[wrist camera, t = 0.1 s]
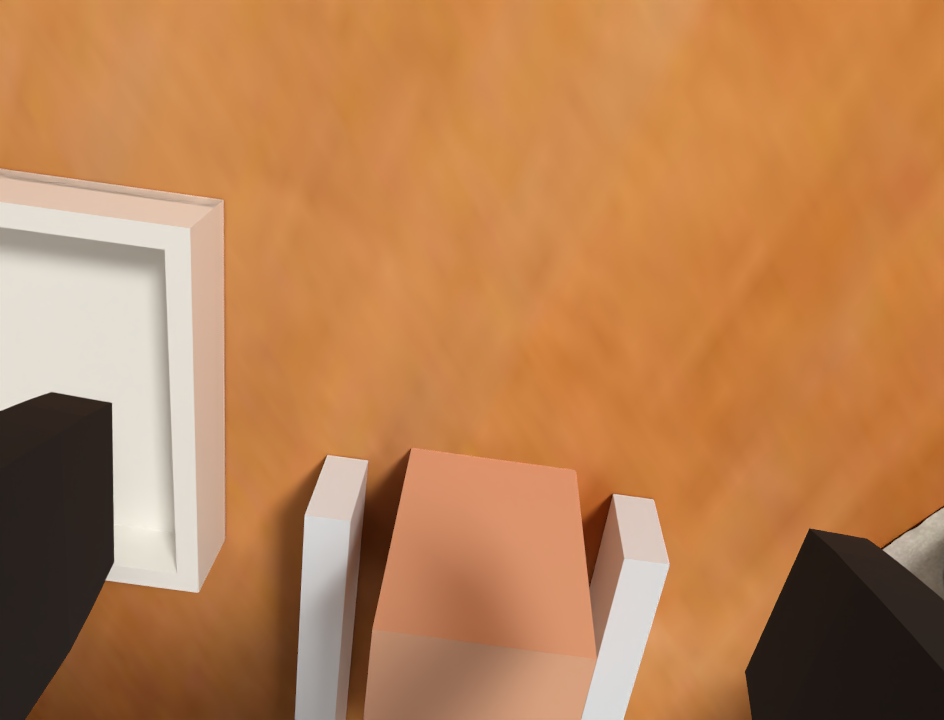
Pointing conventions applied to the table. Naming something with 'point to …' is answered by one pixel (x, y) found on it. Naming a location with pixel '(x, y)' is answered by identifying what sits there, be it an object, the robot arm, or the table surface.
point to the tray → (126, 351)
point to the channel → (336, 578)
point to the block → (483, 596)
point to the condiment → (923, 552)
